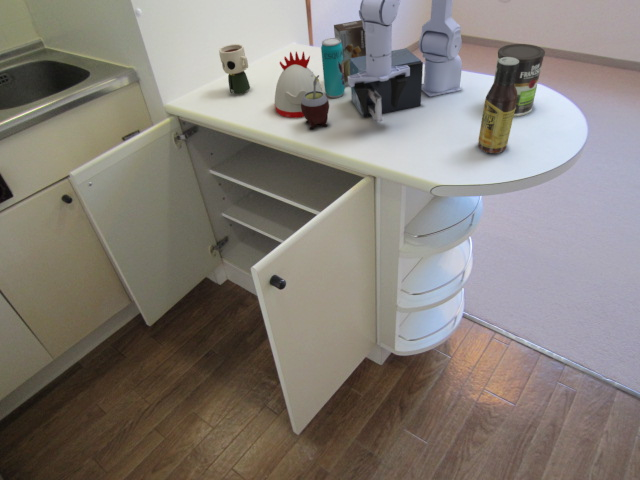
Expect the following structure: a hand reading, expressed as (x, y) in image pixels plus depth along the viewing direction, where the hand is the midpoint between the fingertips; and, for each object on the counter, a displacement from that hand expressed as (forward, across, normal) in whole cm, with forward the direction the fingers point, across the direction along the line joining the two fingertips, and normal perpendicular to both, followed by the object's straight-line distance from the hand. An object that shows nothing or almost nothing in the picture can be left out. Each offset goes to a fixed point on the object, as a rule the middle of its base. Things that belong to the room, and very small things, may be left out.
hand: (379, 109), depth 113 cm
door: (+5, +6, +4) cm, 8 cm away
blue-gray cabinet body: (+5, +6, +13) cm, 15 cm away
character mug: (+5, -31, +39) cm, 50 cm away
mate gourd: (+5, -14, +8) cm, 17 cm away
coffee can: (+5, +34, -3) cm, 34 cm away
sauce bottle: (+5, +20, -19) cm, 28 cm away
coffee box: (+5, +3, +31) cm, 31 cm away
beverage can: (+5, -5, +24) cm, 25 cm away
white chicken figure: (+5, -16, +21) cm, 27 cm away
